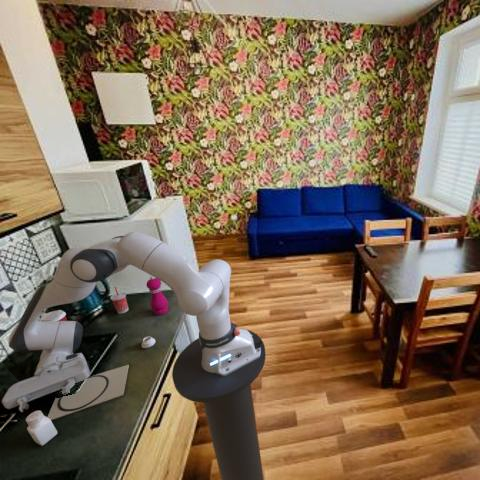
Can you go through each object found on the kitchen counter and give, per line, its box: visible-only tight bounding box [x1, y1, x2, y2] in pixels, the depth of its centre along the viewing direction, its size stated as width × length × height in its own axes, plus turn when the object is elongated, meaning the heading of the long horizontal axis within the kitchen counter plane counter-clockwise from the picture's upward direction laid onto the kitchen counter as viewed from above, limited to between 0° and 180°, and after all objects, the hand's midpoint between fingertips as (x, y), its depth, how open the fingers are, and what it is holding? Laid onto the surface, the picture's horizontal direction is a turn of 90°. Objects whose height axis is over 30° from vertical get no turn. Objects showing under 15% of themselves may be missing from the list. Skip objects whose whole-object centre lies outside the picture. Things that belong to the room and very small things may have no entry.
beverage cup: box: [109, 286, 130, 315], centre depth 130 cm, size 6×6×14 cm
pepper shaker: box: [25, 410, 58, 446], centre depth 76 cm, size 4×4×10 cm
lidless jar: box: [141, 336, 156, 349], centre depth 111 cm, size 5×3×5 cm
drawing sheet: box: [47, 364, 130, 421], centre depth 92 cm, size 20×14×1 cm
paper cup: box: [40, 309, 68, 321], centre depth 110 cm, size 8×8×14 cm
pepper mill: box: [146, 275, 169, 316], centre depth 129 cm, size 7×7×20 cm
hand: (45, 401), depth 82 cm, fingers open, 8 cm apart
